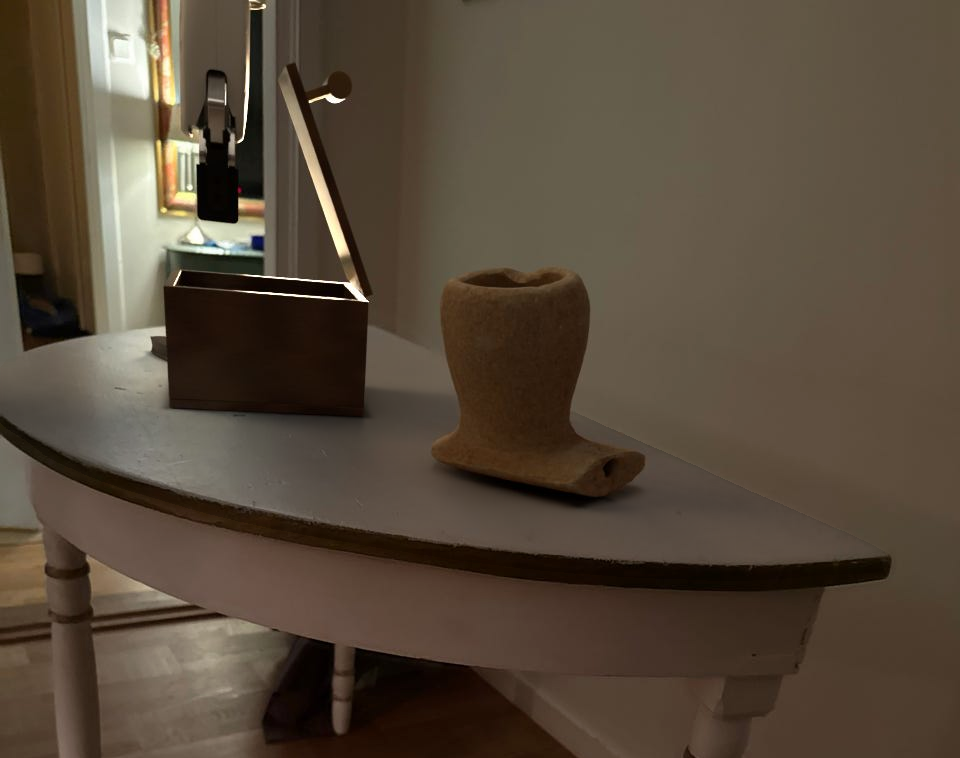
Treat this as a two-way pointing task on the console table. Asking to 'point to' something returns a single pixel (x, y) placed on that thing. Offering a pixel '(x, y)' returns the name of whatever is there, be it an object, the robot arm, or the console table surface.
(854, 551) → the console table surface
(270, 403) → the chest
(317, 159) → the lid
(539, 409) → the stone cup
